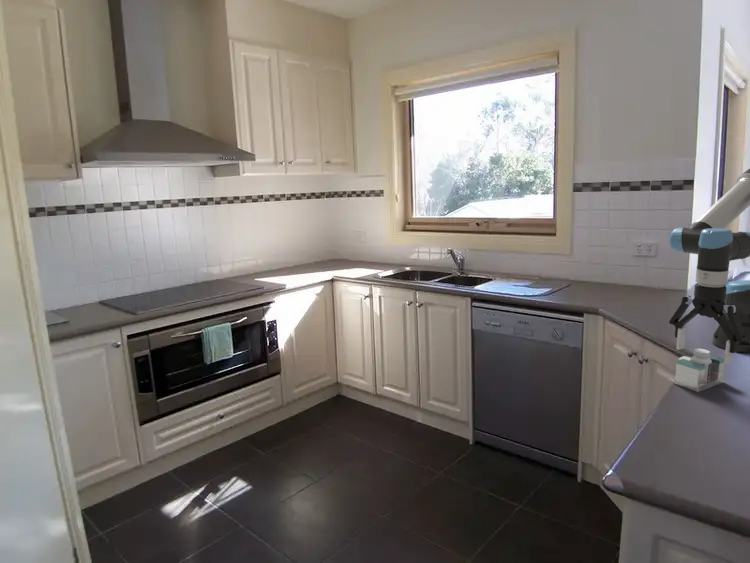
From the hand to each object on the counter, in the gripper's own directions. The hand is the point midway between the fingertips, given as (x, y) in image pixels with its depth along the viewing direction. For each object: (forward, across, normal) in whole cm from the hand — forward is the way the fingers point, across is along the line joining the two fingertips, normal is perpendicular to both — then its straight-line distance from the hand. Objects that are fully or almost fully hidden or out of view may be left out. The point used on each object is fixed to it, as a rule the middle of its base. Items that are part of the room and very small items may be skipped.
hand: (703, 355), depth 151 cm
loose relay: (+9, -7, +5) cm, 12 cm away
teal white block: (+8, 0, -1) cm, 8 cm away
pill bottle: (+8, 0, -1) cm, 8 cm away
